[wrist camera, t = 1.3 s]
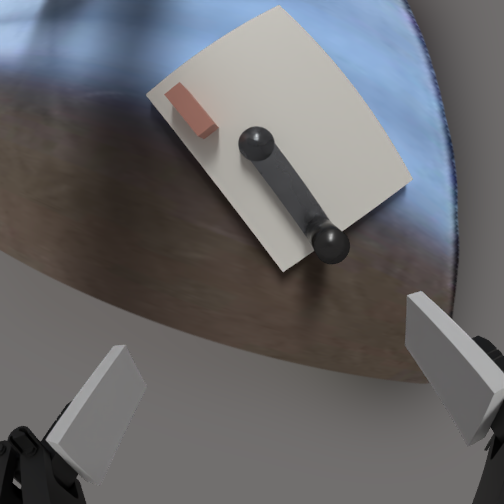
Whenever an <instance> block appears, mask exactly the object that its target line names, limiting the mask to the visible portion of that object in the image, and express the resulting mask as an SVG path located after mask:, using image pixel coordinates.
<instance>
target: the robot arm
mask: <svg viewBox="0 0 504 504" xmlns="http://www.w3.org/2000/svg"><path fill="white" fill-rule="evenodd" d="M405 346H406V348H407V349H408V351H409V352H410V354H411V355H412V357H413V358H414V359H415V361H416V362H417V364H418V365H419V367H420V369H421V370H422V372H423V373H424V375H425V376H426V378H427V379H428V381H429V382H430V384H431V385H432V387H433V389H434V390H435V392H436V393H437V395H438V397H439V398H440V400H441V401H442V403H443V405H444V406H445V408H446V410H447V411H448V413H449V415H450V416H451V418H452V420H453V422H454V423H455V425H456V427H457V428H458V430H459V432H460V434H461V436H462V437H463V439H464V441H465V443H466V445H467V446H470V445H472V444H474V443H476V442H477V441H479V440H481V439H483V438H484V437H485V436H486V434H487V432H488V431H489V429H490V427H491V428H492V430H493V432H494V434H493V436H492V437H491V439H490V441H489V442H488V444H487V446H486V448H485V450H486V451H487V450H488V448H489V446H490V448H489V452H488V456H487V460H486V464H485V467H484V471H483V474H482V477H481V480H480V483H479V486H478V489H477V492H476V495H475V498H474V500H473V503H472V504H504V356H503V355H502V353H501V352H500V351H499V350H497V349H496V347H495V346H494V345H493V344H492V343H491V342H490V341H489V340H487V339H485V338H482V337H480V336H476V337H474V338H472V339H471V338H470V337H469V336H468V335H467V334H466V333H465V332H464V331H463V330H462V329H461V328H460V327H459V326H458V325H457V324H456V323H455V322H454V321H453V320H452V319H451V318H450V317H449V316H448V315H447V314H446V313H445V312H444V311H443V310H441V309H440V308H439V307H438V306H437V305H436V304H435V303H434V302H433V301H432V300H431V299H430V298H428V297H427V296H426V295H425V294H424V293H423V292H422V291H420V292H416V293H413V294H410V295H407V316H406V337H405ZM146 389H147V385H146V383H145V381H144V379H143V378H142V376H141V374H140V372H139V370H138V368H137V366H136V364H135V362H134V360H133V358H132V356H131V354H130V352H129V350H128V348H127V346H126V345H116V346H113V347H112V349H111V350H110V351H109V353H108V354H107V355H106V356H105V358H104V359H103V360H102V362H101V363H100V364H99V366H98V367H97V368H96V370H95V371H94V372H93V374H92V375H91V376H90V378H89V379H88V380H87V382H86V383H85V385H84V386H83V387H82V388H81V390H80V391H79V392H78V394H77V395H76V397H75V398H74V399H73V400H72V401H71V402H70V403H68V404H67V405H66V406H65V408H64V409H63V411H62V412H61V414H60V415H59V416H58V418H57V421H55V422H54V423H53V425H52V426H51V428H50V429H49V430H48V432H47V433H46V435H45V436H44V438H43V439H42V441H41V442H40V441H39V440H38V439H37V438H36V436H35V435H34V434H33V433H32V432H31V430H30V429H29V428H28V427H26V426H21V427H18V428H16V429H14V430H13V431H12V432H11V434H10V435H9V437H8V441H5V440H4V441H0V504H86V501H85V498H84V494H83V491H82V488H81V485H80V482H79V480H77V479H76V477H77V475H78V474H79V475H80V476H81V477H82V478H83V479H84V480H85V481H87V482H90V483H93V484H96V485H99V486H100V485H101V483H102V481H103V479H104V477H105V474H106V472H107V470H108V468H109V466H110V463H111V461H112V459H113V457H114V455H115V452H116V450H117V448H118V446H119V444H120V442H121V440H122V438H123V435H124V434H125V431H126V429H127V427H128V425H129V423H130V421H131V419H132V417H133V415H134V413H135V411H136V409H137V407H138V405H139V403H140V401H141V399H142V397H143V395H144V393H145V391H146ZM13 478H14V479H15V480H16V481H17V482H19V483H20V484H21V486H22V487H21V489H19V488H18V487H17V486H15V485H14V484H13V483H12V482H13Z"/></svg>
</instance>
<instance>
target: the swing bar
mask: <svg viewBox="0 0 504 504" xmlns="http://www.w3.org/2000/svg"><path fill="white" fill-rule="evenodd" d="M238 147H239V150H240V152H241V154H242V155H243V156H244V157H245V158H246V159H248V160H250V161H251V162H252V163H253V165H254V166H255V167H256V169H257V170H258V171H259V173H260V174H261V175H262V177H263V178H264V179H265V181H266V182H267V183H268V185H269V186H270V187H271V189H272V190H273V191H274V193H275V194H276V195H277V197H278V198H279V199H280V201H281V202H282V204H283V205H284V206H285V208H286V209H287V210H288V212H289V213H290V215H291V216H292V217H293V219H294V220H295V222H296V223H297V224H298V226H299V227H300V229H301V230H302V231H303V233H304V234H305V236H306V237H307V239H308V240H309V242H310V244H311V245H312V247H313V249H314V251H315V252H316V254H317V256H318V258H319V259H320V260H321V261H323V262H324V263H327V264H336V263H339V262H341V261H342V260H344V259H345V258H346V256H347V255H348V253H349V249H350V243H349V239H348V237H347V236H346V235H345V234H344V233H343V232H342V231H341V230H340V229H339V228H337V227H336V226H335V225H334V224H333V223H332V222H331V221H330V220H329V218H328V217H327V215H326V214H325V212H324V211H323V209H322V208H321V207H320V205H319V204H318V202H317V201H316V199H315V198H314V196H313V195H312V193H311V192H310V191H309V189H308V188H307V186H306V185H305V183H304V182H303V181H302V179H301V178H300V176H299V175H298V174H297V172H296V171H295V169H294V168H293V167H292V165H291V164H290V163H289V161H288V160H287V159H286V157H285V156H284V155H283V153H282V152H281V151H280V149H279V148H278V147H277V145H276V144H275V141H274V138H273V136H272V134H271V133H270V132H269V131H268V130H267V129H265V128H263V127H258V126H254V127H250V128H248V129H246V130H245V131H244V132H243V133H242V134H241V135H240V137H239V141H238Z"/></svg>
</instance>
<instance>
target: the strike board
mask: <svg viewBox="0 0 504 504" xmlns="http://www.w3.org/2000/svg"><path fill="white" fill-rule="evenodd" d="M146 96H147V97H148V98H149V100H150V101H151V102H152V103H153V105H154V106H155V107H156V108H157V110H158V111H159V112H160V113H161V115H162V116H163V117H164V119H165V120H166V121H167V122H168V124H169V125H170V126H171V127H172V129H173V130H174V131H175V132H176V134H177V135H178V136H179V138H180V139H181V140H182V141H183V143H184V144H185V145H186V147H187V148H188V149H189V150H190V152H191V153H192V154H193V155H194V157H195V158H196V159H197V161H198V162H199V163H200V164H201V166H202V167H203V168H204V170H205V171H206V172H207V173H208V175H209V176H210V177H211V179H212V180H213V181H214V183H215V184H216V185H217V186H218V188H219V189H220V190H221V192H222V193H223V194H224V195H225V197H226V198H227V199H228V201H229V202H230V203H231V205H232V206H233V207H234V209H235V210H236V211H237V212H238V214H239V215H240V216H241V218H242V219H243V220H244V222H245V223H246V224H247V225H248V227H249V228H250V229H251V231H252V232H253V233H254V235H255V236H256V237H257V239H258V240H259V241H260V243H261V244H262V245H263V247H264V248H265V249H266V250H267V252H268V253H269V254H270V256H271V257H272V258H273V260H274V261H275V262H276V264H277V265H278V266H279V268H280V269H281V270H282V272H284V271H285V270H287V269H288V268H290V267H291V266H293V265H294V264H296V263H297V262H299V261H300V260H301V259H303V258H304V257H306V256H307V255H309V254H310V253H312V252H313V251H314V249H313V247H312V245H311V244H310V242H309V240H308V239H307V237H306V236H305V234H304V233H303V231H302V230H301V229H300V227H299V226H298V224H297V223H296V222H295V220H294V219H293V217H292V216H291V215H290V213H289V212H288V210H287V209H286V208H285V206H284V205H283V204H282V202H281V201H280V199H279V198H278V197H277V195H276V194H275V193H274V191H273V190H272V189H271V187H270V186H269V185H268V183H267V182H266V181H265V179H264V178H263V177H262V175H261V174H260V173H259V171H258V170H257V169H256V167H255V166H254V165H253V163H252V162H251V161H250V160H248V159H246V158H245V157H244V156H243V155H242V154H241V152H240V150H239V147H238V141H239V137H240V135H241V134H242V133H243V132H244V131H245V130H246V129H248V128H250V127H254V126H258V127H263V128H265V129H267V130H268V131H269V132H270V133H271V134H272V136H273V138H274V141H275V144H276V145H277V147H278V148H279V149H280V151H281V152H282V153H283V155H284V156H285V157H286V159H287V160H288V161H289V163H290V164H291V165H292V167H293V168H294V169H295V171H296V172H297V174H298V175H299V176H300V178H301V179H302V181H303V182H304V183H305V185H306V186H307V188H308V189H309V191H310V192H311V193H312V195H313V196H314V198H315V199H316V201H317V202H318V204H319V205H320V207H321V208H322V209H323V211H324V212H325V214H326V215H327V217H328V218H329V220H330V221H331V222H332V223H333V224H334V225H335V226H336V227H337V228H339V229H340V230H341V231H343V230H345V229H346V228H347V227H349V226H350V225H352V224H353V223H354V222H356V221H357V220H359V219H360V218H361V217H363V216H364V215H365V214H367V213H368V212H370V211H371V210H372V209H374V208H375V207H376V206H378V205H379V204H381V203H382V202H383V201H385V200H386V199H387V198H389V197H390V196H391V195H393V194H394V193H396V192H397V191H398V190H400V189H401V188H402V187H404V186H405V185H406V184H408V183H409V182H410V181H412V180H413V179H412V177H411V175H410V173H409V171H408V169H407V167H406V166H405V164H404V162H403V160H402V159H401V157H400V155H399V153H398V152H397V150H396V148H395V147H394V145H393V143H392V142H391V140H390V138H389V137H388V135H387V134H386V132H385V131H384V129H383V127H382V126H381V124H380V123H379V121H378V120H377V118H376V117H375V115H374V114H373V112H372V111H371V110H370V108H369V107H368V105H367V104H366V102H365V101H364V100H363V98H362V97H361V96H360V94H359V93H358V92H357V90H356V89H355V88H354V86H353V85H352V84H351V82H350V81H349V80H348V79H347V77H346V76H345V75H344V73H343V72H342V71H341V70H340V69H339V67H338V66H337V65H336V64H335V63H334V61H333V60H332V59H331V58H330V57H329V56H328V54H327V53H326V52H325V51H324V50H323V49H322V48H321V47H320V45H319V44H318V43H317V42H316V41H315V40H314V39H313V38H312V37H311V36H310V35H309V34H308V33H307V32H306V31H305V30H304V29H303V28H302V26H301V25H300V24H298V23H297V22H296V21H295V20H294V19H293V18H292V17H291V16H290V15H289V14H288V13H287V12H286V11H285V10H284V9H283V8H282V7H281V6H279V5H278V6H276V7H274V8H272V9H270V10H268V11H266V12H264V13H262V14H261V15H259V16H257V17H255V18H253V19H251V20H250V21H248V22H246V23H244V24H243V25H241V26H239V27H238V28H236V29H234V30H233V31H231V32H229V33H228V34H226V35H224V36H223V37H221V38H220V39H218V40H217V41H215V42H214V43H212V44H211V45H209V46H208V47H206V48H205V49H203V50H202V51H200V52H199V53H198V54H196V55H195V56H193V57H192V58H191V59H189V60H188V61H187V62H185V63H184V64H183V65H181V66H180V67H179V68H177V69H176V70H175V71H174V72H172V73H171V74H170V75H169V76H167V77H166V78H165V79H164V80H162V81H161V82H160V83H159V84H158V85H156V86H155V87H154V88H153V89H152V90H151V91H149V92H148V93H147V94H146Z"/></svg>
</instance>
